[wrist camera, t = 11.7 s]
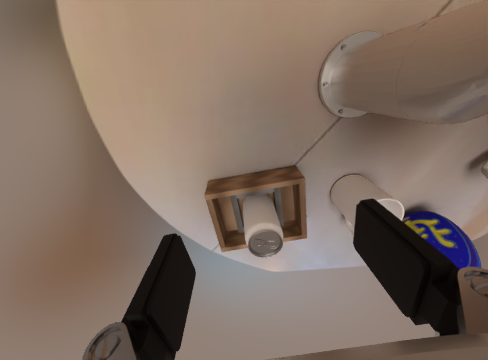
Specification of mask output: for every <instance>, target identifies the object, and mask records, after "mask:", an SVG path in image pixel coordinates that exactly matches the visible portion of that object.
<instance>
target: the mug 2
mask: <svg viewBox="0 0 488 360" xmlns="http://www.w3.org/2000/svg"><path fill="white" fill-rule="evenodd" d="M481 172H482V173H483V174H484V175H485V176H486V178H488V161H487V162H485V164H484V165H483V167H482V168H481Z"/></svg>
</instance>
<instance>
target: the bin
mask: <svg viewBox="0 0 488 360" xmlns="http://www.w3.org/2000/svg"><path fill="white" fill-rule="evenodd" d="M260 194H267V195H269V196H270V197H271V199H272V201H273V204H274V207H275V210H276V213H277V216H278V219H279V222H280V225H281V229H282V232H283V242H286V241H292V240H298V239H304V238H307V224H306V198H305V178H304V176H303V175H302V174H301V173H300V171H299V170H298V169H297V167H296V166H289V167H284V168H278V169H272V170H267V171H261V172H255V173H250V174H244V175H239V176H233V177H227V178H222V179H216V180H210V181H208V185H207V188H206V192H205V199H206V202H207V205H208V208H209V212H210V215H211V218H212V221H213V225H214V228H215V231H216V234H217V238H218V241H219V244H220V247H221V251H222V252H225V251H231V250H237V249H243V248H248V245H247V244H246V241H245V232H244V218H243V202H244V199H245V198H246V197H248V196H254V195H260Z"/></svg>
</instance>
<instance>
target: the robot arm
mask: <svg viewBox="0 0 488 360" xmlns="http://www.w3.org/2000/svg"><path fill="white" fill-rule="evenodd" d="M341 47H342V50H341ZM323 83H324V86H323ZM318 88H319V95H320V98H321V101H322V103H323V104H324V106H325V107H326V108H327V109H328V111H330V112H331V113H333V114H334V115H337V116H340V117H344V118H354V117H359V116H362V115H365V114H367V113H368V112H370V113H376V114H381V115H386V116H392V117H397V118H403V119H408V120H414V121H420V122H426V123H432V124H454V123H460V122H465V121H468V120H471V119H475V118H478V117H480V116H483V115H485V114H487V113H488V0H483V1H481V2H478V3H475V4H472V5H469V6H467V7H464V8H461V9H458V10H455V11H453V12H450V13H448V14H445V15H442V16H439V17H436V18H433V19H430V20H428V21H425V22H422V23H419V24H416V25H413V26H410V27H407V28H405V29H402V30H399V31H396V32H393V33H390V34H387V35H385V36H384V35H383V34H380V33H378V32H374V31H363V32H359V33H356V34H353V35H351V36H349V37H347V38H345V39H344V40H342V41H341V42H340V43H339V44H338V45H336V46H335V47H334V48H333V50H332V51H331V52H330V53H329V55H328V56H327V58H326V60H325V62H324V63H323V66H322V69H321V71H320V76H319V86H318ZM338 111H339V112H338ZM353 244H354V247H355V249H356V251H357V252H358V254H359V255H360V256H361V258H362V259H363V260H364V262H365V263H366V264H367V266H368V267H369V268H370V270H371V271H372V272H373V274H374V275H375V277H376V278H377V279H378V281H379V282H380V283H381V285H382V286H383V287H384V289H385V290H386V291H387V293H388V294H389V295H390V297H391V298H392V300H393V301H394V302H395V304H396V305H397V306H398V308H399V309H400V310H401V312H402V313H403V314H404V315H405V316H406V317H410V319H411V320H412V321H413V323H414V324H415V325H421V324H428V323H429V324H430V325H431V327H432V328H433V329H434V330H435V337H429V338H421V339H412V340H404V341H397V342H389V343H382V344H376V345H368V346H360V347H353V348H346V349H338V350H331V351H324V352H318V353H310V354H303V355H296V356H290V357H282V358H275V359H269V360H488V270H486V269H483V268H478V267H465V268H461V269H459V268H458V267H457V266H456V265H454V264H455V263H453V262H452V261H451V260H450V259H448V258H447V257H446V256H445V255H443V254H442V253H441V252H440V251H438V250H437V249H436V248H435V247H434V246H432V245H431V244H430V243H429V242H427V241H426V240H425V239H424V238H422V237H421V236H420V235H419V234H417V233H416V232H415V231H414V230H412V229H411V228H410V227H409V226H407V225H406V224H405V223H404V222H402V221H401V220H400V219H399V218H397V217H396V216H395V215H394V214H393V213H391V212H390V211H389V210H388V209H386V208H385V207H384V206H383V205H381V204H380V203H379V202H378V201H376V200H375V199H373V198H371V199H365V200H361V201H360V202H359V204H357V205H356V215H355V227H354V239H353ZM195 275H196V272H195V268H194V266H193V264H192V261H191V259H190V257H189V254H188V252H187V250H186V248H185V246H184V243H183V241H182V238H181V237H180V236H177V234H169V235H165V236H164V237H163V238H162V241H161V243H160V245H159V247H158V249H157V251H156V253H155V255H154V257H153V259H152V261H151V263H150V265H149V267H148V268H147V271H146V272H145V274H144V277H143V278H142V281H141V283H140V285H139V287H138V289H137V291H136V293H135V295H134V297H133V299H132V301H131V303H130V305H129V307H128V309H127V311H126V313H125V315H124V317H123V319H122V322H115V323H113V324H110V325H108V326H107V327H105V328H104V329H102V330H101V331H100V332H99V333H98V334H97V335H96V336H95V337H94V338H93V339H92V340H91V342H90V343H89V345H88V346H87V348H86V350H85V352H84V355H83V360H174V359H175V354H176V351H179V349H180V346H181V342H182V337H183V332H184V328H185V323H186V318H187V314H188V309H189V304H190V299H191V295H192V290H193V285H194V281H195Z"/></svg>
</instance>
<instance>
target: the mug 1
mask: <svg viewBox="0 0 488 360" xmlns="http://www.w3.org/2000/svg"><path fill="white" fill-rule="evenodd" d="M371 198H373V199H375V200H376V201H378V202H379V203H380V204H381V205H383V206H384V207H385V208H386V209H388V210H389V211H390V212H391V213H393V214H394V215H395V216H396V217H397V218H399V219H400V220H401V221H402V219H403V217H404V207H403V205H402V204H401V203H400V202H399V201H398V200H396V199H395V198H393V197H392V196H391V195H389V194H388V193H386V192H385V191H383V190H382V189H380V188H379V187H378V186H376V185H375V184H373V183H372V182H370V181H369V180H367V179H366V178H364V177H362V176H360V175H347V176H345V177H343V178H341V179H339V180H338V181H337V182H336V183H335V184H334V186H333V187H332V190H331V199H332V202H333V203H334V204H335V206H336V207H337V208H338V209H339V210H340V212H341V213H342V214H343V215H344V216H345V220H346V224H347V227H348V229H349V231H350V232H351V234H352V235H353V236H354V227H355V215H356V205H357V204H359V202H360V201H361V200H365V199H371Z"/></svg>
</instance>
